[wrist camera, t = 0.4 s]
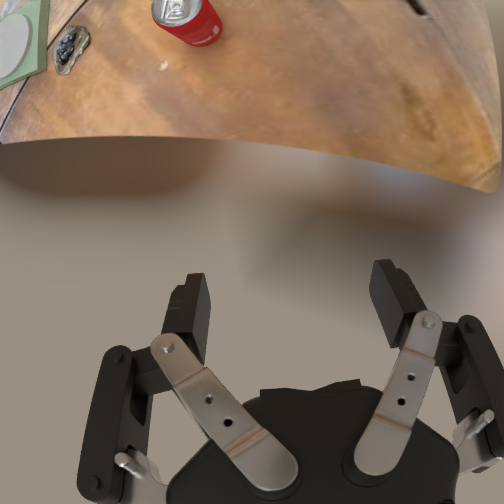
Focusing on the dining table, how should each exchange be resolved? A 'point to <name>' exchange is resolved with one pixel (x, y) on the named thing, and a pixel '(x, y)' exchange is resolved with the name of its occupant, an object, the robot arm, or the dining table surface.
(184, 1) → the beverage can
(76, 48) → the geode
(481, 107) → the dining table surface
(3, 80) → the scale
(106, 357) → the robot arm
